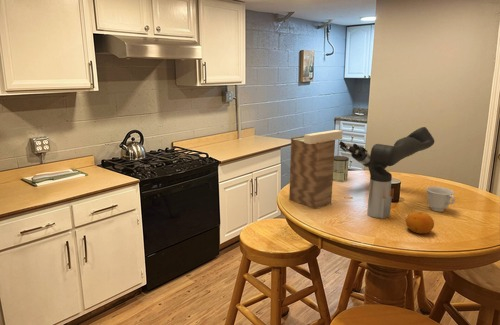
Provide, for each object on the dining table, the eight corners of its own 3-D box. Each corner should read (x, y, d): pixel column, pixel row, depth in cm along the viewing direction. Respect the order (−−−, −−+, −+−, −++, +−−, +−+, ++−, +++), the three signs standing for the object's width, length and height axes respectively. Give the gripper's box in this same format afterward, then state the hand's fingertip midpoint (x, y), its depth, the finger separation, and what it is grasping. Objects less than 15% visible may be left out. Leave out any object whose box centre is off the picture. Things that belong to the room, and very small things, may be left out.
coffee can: (329, 177, 230) (330, 155, 227) (345, 177, 229) (347, 156, 226) (331, 181, 221) (332, 159, 217) (348, 182, 220) (350, 159, 216)
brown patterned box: (331, 203, 182) (335, 140, 174) (315, 209, 175) (318, 142, 167) (304, 194, 196) (307, 135, 188) (289, 199, 188) (291, 137, 181)
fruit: (424, 225, 156) (426, 208, 154) (437, 236, 145) (440, 218, 143) (400, 226, 155) (402, 208, 153) (412, 236, 145) (414, 218, 143)
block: (342, 138, 182) (342, 130, 181) (310, 144, 167) (310, 135, 166) (335, 137, 185) (336, 129, 184) (304, 142, 170) (304, 134, 169)
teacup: (441, 217, 165) (443, 197, 162) (418, 206, 178) (420, 187, 176) (462, 215, 168) (465, 194, 165) (438, 204, 182) (440, 185, 179)
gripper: (370, 164, 194) (355, 152, 183) (348, 159, 204) (333, 148, 194) (375, 151, 194) (361, 139, 184) (352, 147, 205) (338, 135, 195)
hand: (346, 143), depth 189 cm, fingers open, 8 cm apart
